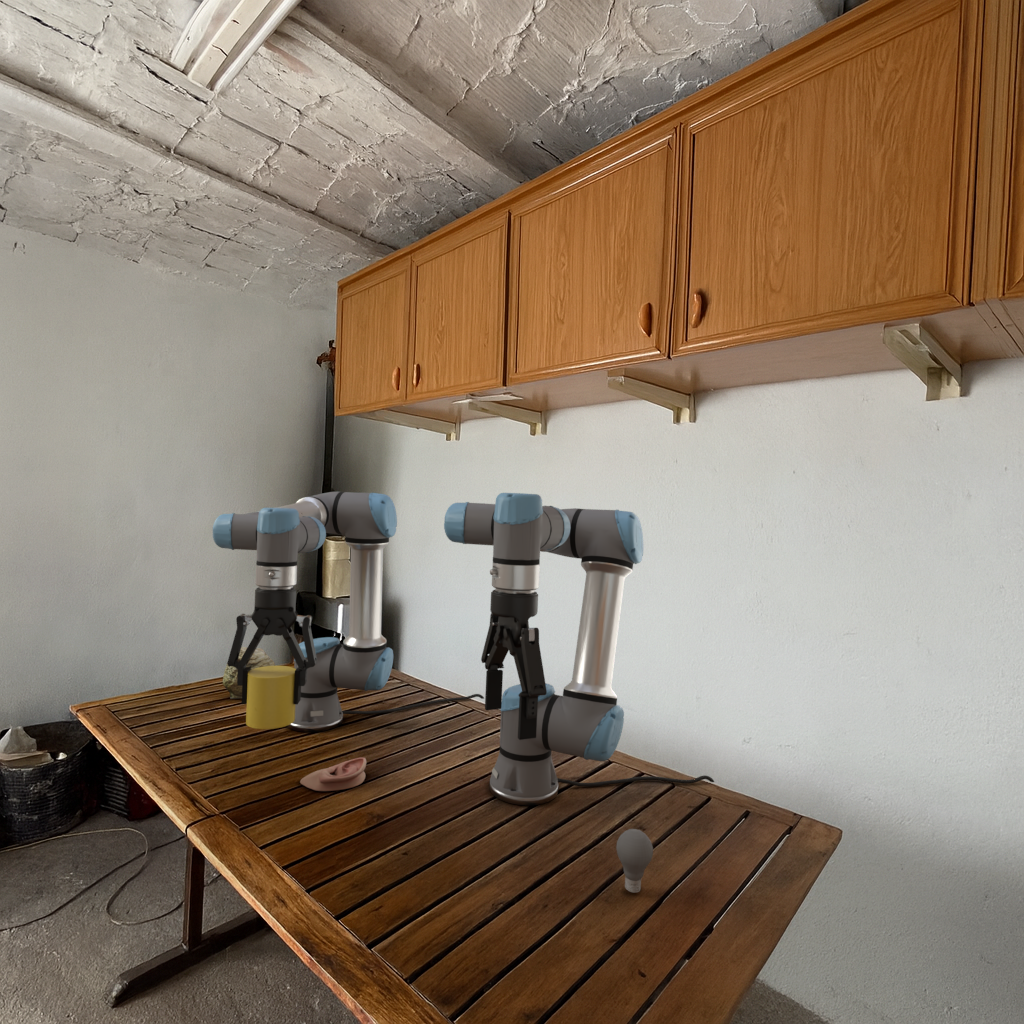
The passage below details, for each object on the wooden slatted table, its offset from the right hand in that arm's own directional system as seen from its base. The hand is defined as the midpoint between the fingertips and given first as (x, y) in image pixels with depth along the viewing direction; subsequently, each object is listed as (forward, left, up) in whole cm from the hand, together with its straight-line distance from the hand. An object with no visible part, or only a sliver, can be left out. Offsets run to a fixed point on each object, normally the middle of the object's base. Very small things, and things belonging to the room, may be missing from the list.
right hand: (508, 722), depth 101 cm
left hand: (+33, -39, -6) cm, 52 cm away
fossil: (+34, -120, -29) cm, 128 cm away
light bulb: (-22, +5, -29) cm, 36 cm away
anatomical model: (+19, -52, -29) cm, 62 cm away
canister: (+33, -39, -10) cm, 52 cm away
